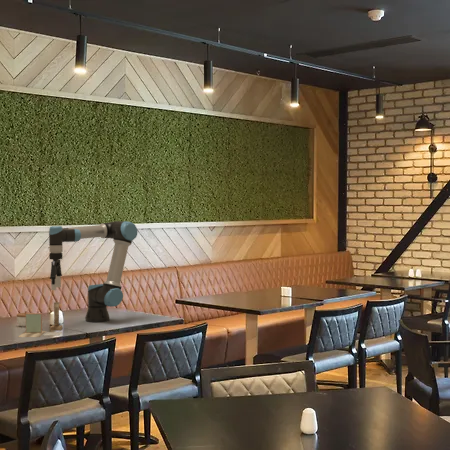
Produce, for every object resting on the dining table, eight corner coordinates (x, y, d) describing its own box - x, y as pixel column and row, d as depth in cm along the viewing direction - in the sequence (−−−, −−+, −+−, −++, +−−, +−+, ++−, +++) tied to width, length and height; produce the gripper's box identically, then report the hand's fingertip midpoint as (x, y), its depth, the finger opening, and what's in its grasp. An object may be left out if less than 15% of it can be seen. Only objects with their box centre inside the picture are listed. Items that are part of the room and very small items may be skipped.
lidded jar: (18, 325, 446) (18, 310, 445) (36, 325, 446) (36, 309, 446) (15, 328, 435) (14, 312, 435) (33, 328, 436) (33, 312, 436)
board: (46, 331, 423) (46, 331, 423) (39, 337, 405) (39, 336, 405) (25, 332, 423) (25, 331, 423) (17, 337, 405) (17, 337, 405)
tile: (42, 332, 420) (42, 313, 419) (41, 332, 418) (41, 313, 417) (26, 332, 419) (26, 313, 419) (25, 332, 417) (25, 313, 417)
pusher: (62, 329, 432) (62, 301, 431) (60, 331, 426) (60, 303, 425) (52, 329, 431) (52, 301, 431) (50, 331, 425) (50, 303, 425)
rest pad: (62, 333, 419) (62, 332, 419) (59, 336, 410) (59, 335, 410) (46, 333, 419) (46, 332, 419) (42, 336, 410) (42, 335, 410)
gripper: (53, 251, 439) (53, 286, 440) (44, 254, 414) (45, 291, 415) (66, 251, 439) (66, 286, 440) (58, 254, 415) (58, 291, 415)
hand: (56, 288), depth 428 cm, fingers open, 13 cm apart
